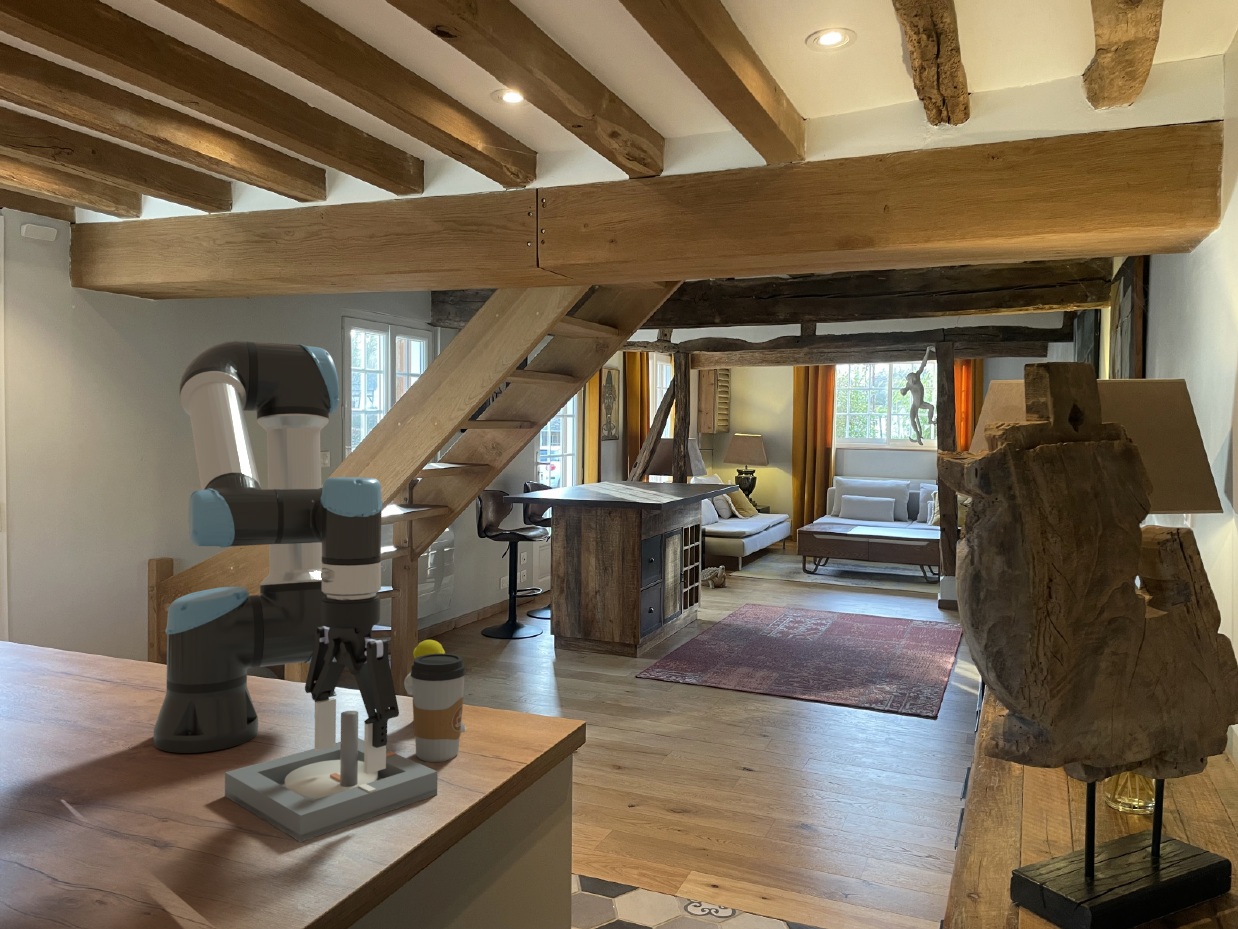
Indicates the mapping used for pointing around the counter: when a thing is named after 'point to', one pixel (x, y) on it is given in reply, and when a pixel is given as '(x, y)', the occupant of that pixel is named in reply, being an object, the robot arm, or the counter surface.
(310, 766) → the dial
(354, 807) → the dial board
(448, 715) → the coffee cup
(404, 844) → the counter surface
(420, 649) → the figurine
